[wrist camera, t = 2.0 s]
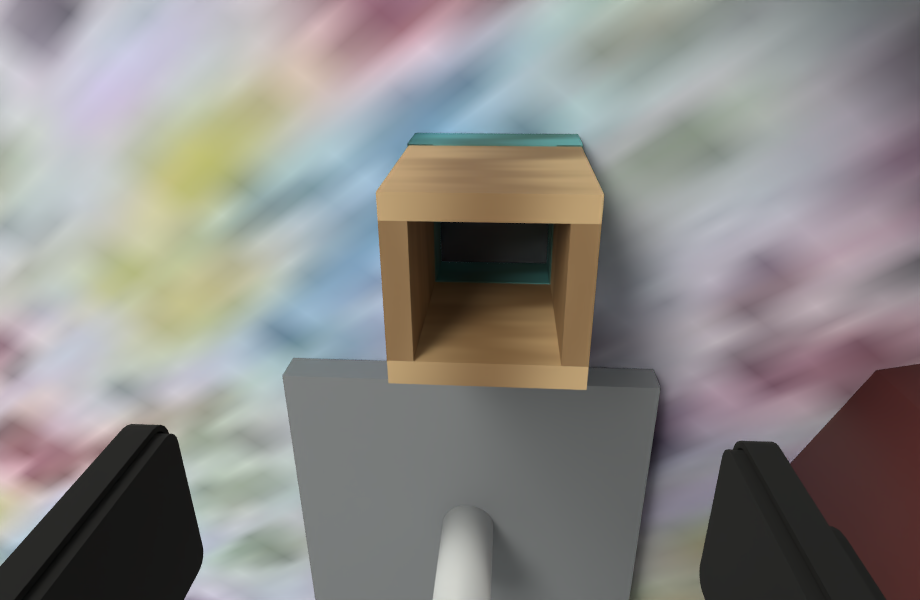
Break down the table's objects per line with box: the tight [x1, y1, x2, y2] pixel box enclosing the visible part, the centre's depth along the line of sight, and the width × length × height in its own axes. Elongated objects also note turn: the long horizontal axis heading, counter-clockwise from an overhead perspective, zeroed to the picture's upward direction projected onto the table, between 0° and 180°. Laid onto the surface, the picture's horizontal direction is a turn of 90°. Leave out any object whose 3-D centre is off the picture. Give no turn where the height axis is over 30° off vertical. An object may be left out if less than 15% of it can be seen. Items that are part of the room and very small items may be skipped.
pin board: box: [283, 358, 660, 600], centre depth 29 cm, size 16×16×6 cm
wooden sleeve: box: [376, 133, 604, 390], centre depth 22 cm, size 6×6×8 cm
